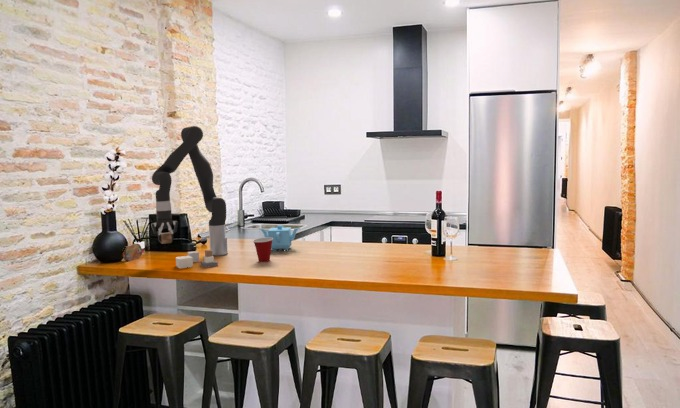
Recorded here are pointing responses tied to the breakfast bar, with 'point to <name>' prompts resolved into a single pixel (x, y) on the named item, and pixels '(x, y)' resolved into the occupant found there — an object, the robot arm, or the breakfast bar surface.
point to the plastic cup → (263, 248)
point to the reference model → (209, 259)
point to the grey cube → (194, 255)
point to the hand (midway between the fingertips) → (166, 241)
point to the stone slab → (132, 252)
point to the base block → (184, 262)
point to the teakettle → (280, 237)
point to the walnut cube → (166, 238)
